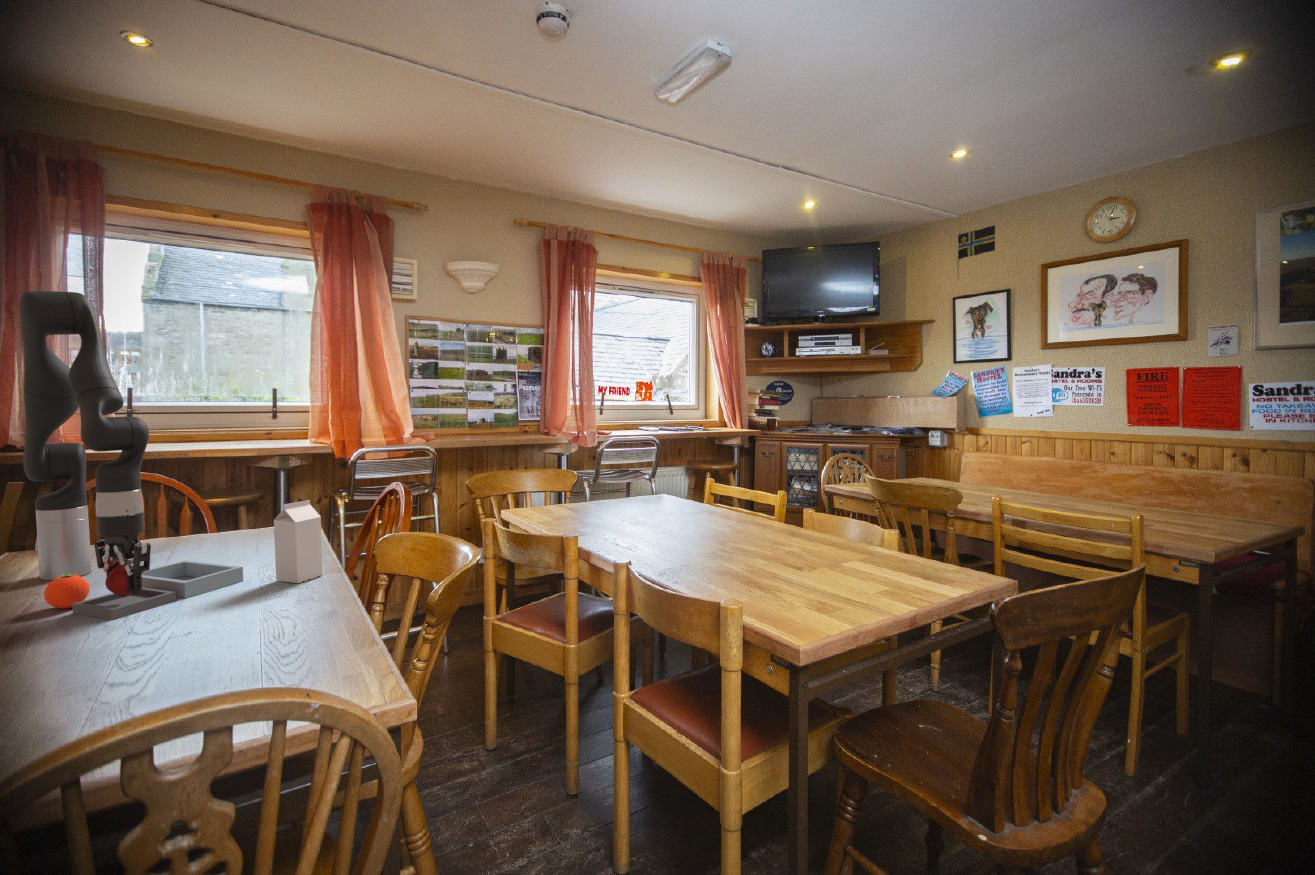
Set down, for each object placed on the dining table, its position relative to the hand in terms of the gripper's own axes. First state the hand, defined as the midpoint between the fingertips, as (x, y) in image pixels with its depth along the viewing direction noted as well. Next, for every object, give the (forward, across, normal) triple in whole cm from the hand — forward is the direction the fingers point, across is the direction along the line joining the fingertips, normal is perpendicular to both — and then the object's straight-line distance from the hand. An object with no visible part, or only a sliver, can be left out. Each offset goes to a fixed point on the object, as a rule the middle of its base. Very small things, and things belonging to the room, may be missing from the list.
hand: (124, 589), depth 128 cm
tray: (+4, 0, 0) cm, 4 cm away
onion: (+2, 0, 0) cm, 2 cm away
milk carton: (+4, +18, +27) cm, 32 cm away
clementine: (+4, -12, -4) cm, 13 cm away
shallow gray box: (+4, -3, +14) cm, 15 cm away
